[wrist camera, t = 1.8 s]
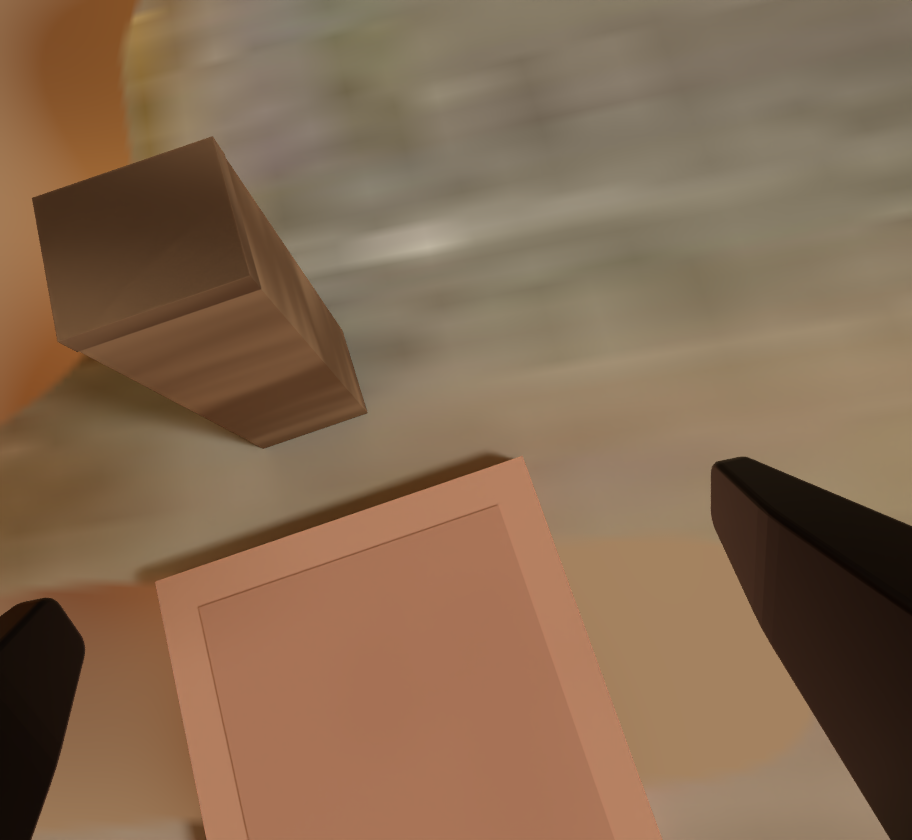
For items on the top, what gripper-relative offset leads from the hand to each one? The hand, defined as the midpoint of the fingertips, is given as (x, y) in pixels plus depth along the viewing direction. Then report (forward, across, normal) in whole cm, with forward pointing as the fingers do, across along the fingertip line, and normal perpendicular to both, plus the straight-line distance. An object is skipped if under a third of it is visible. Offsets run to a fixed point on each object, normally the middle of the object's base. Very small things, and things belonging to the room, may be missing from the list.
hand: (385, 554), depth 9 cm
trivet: (+7, +3, +12) cm, 14 cm away
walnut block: (+15, +4, +4) cm, 16 cm away
